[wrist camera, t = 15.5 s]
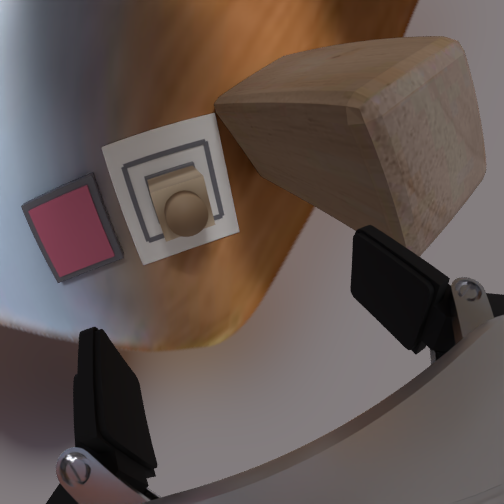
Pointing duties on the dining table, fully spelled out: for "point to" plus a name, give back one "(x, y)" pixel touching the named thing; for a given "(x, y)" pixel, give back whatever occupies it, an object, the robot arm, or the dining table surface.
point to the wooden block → (367, 132)
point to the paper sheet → (161, 158)
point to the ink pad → (73, 228)
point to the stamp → (180, 201)
